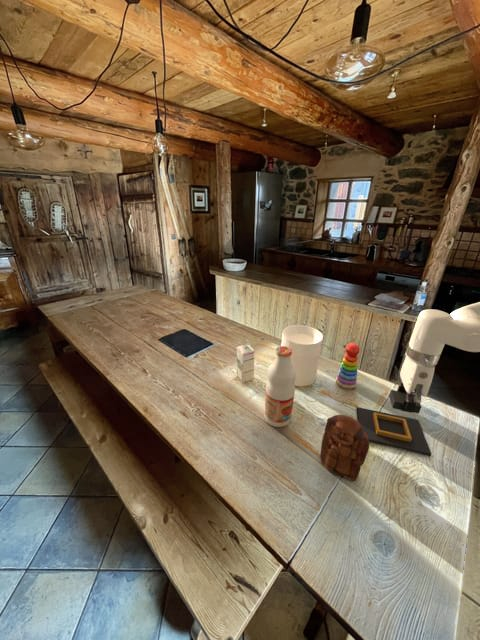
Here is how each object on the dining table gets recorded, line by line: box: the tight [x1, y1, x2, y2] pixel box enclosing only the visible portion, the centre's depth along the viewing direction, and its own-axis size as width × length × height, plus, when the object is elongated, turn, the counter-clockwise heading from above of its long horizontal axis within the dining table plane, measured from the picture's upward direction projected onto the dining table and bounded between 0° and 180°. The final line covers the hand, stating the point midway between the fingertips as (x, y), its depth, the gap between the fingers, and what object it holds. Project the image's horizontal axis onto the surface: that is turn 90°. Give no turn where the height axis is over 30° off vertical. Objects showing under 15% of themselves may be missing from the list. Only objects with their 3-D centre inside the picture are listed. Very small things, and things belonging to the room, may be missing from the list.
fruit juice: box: [263, 345, 296, 428], centre depth 87 cm, size 9×9×28 cm
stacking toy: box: [335, 342, 361, 390], centre depth 106 cm, size 8×8×19 cm
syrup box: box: [236, 343, 256, 383], centre depth 110 cm, size 6×6×14 cm
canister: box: [280, 324, 324, 387], centre depth 111 cm, size 16×16×20 cm
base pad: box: [356, 406, 432, 457], centre depth 88 cm, size 20×14×2 cm
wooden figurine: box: [319, 414, 370, 482], centre depth 73 cm, size 12×6×18 cm, turn 56°
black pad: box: [388, 389, 422, 414], centre depth 80 cm, size 7×6×3 cm
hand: (403, 403), depth 81 cm, fingers closed on black pad, 5 cm apart
